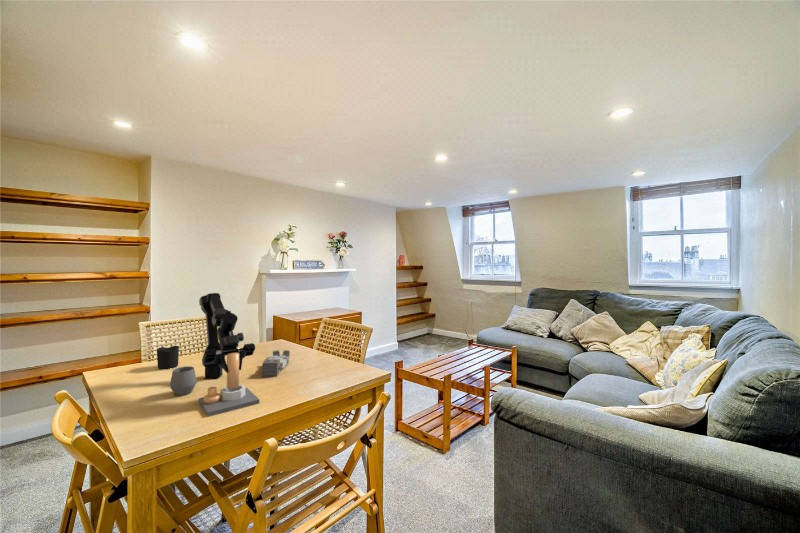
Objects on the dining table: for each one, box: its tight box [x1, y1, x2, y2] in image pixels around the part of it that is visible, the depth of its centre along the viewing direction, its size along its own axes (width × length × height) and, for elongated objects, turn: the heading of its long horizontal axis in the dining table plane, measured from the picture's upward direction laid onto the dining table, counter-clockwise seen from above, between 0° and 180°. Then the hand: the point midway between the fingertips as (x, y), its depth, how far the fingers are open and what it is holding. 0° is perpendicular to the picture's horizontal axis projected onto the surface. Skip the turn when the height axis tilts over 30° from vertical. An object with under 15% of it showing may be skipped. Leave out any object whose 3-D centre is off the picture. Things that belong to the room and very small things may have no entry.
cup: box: [169, 365, 197, 396], centre depth 143 cm, size 10×9×10 cm
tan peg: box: [226, 353, 240, 389], centre depth 137 cm, size 4×4×13 cm
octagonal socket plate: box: [198, 384, 260, 417], centre depth 134 cm, size 16×18×6 cm
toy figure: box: [261, 349, 291, 378], centre depth 179 cm, size 11×7×30 cm
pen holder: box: [156, 345, 180, 370], centre depth 176 cm, size 9×9×10 cm
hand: (234, 371), depth 136 cm, fingers closed on tan peg, 4 cm apart
